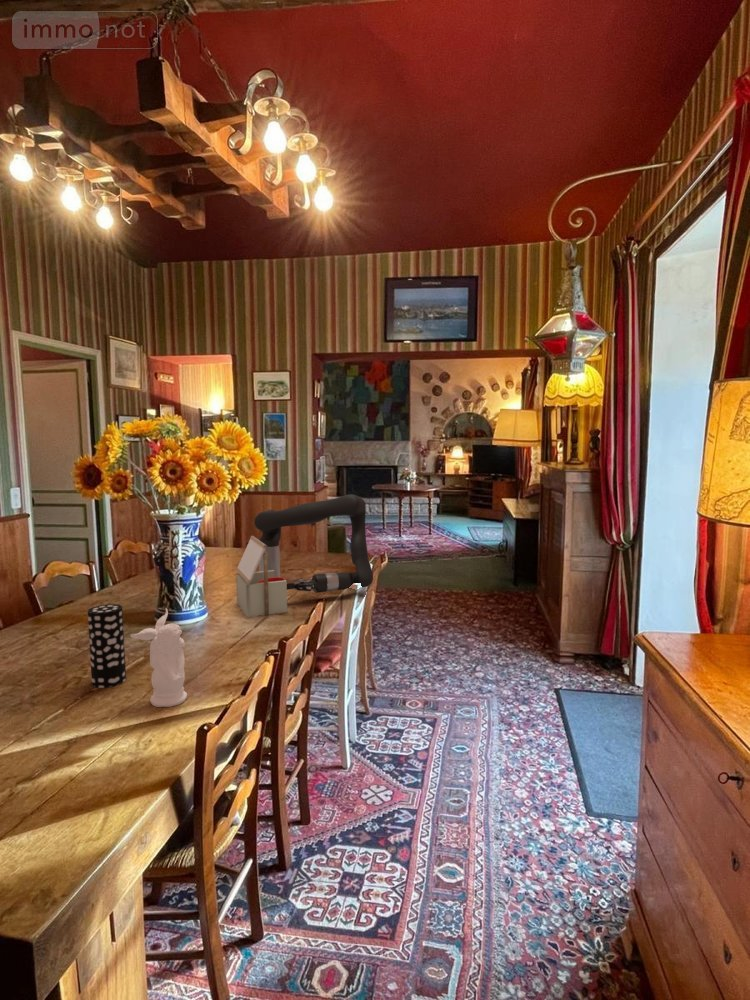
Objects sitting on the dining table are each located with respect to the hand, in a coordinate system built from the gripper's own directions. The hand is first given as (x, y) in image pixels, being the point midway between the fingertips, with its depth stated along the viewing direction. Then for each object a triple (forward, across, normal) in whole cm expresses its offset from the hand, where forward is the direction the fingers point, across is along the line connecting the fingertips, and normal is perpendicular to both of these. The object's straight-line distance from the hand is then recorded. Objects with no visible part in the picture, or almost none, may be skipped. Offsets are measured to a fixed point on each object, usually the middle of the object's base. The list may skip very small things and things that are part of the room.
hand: (283, 586), depth 219 cm
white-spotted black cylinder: (+62, +49, +9) cm, 79 cm away
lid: (+12, 0, -12) cm, 17 cm away
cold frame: (+9, 0, +8) cm, 12 cm away
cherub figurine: (+50, +67, +9) cm, 84 cm away
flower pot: (+4, 0, +7) cm, 8 cm away
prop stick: (+10, +11, +8) cm, 16 cm away
